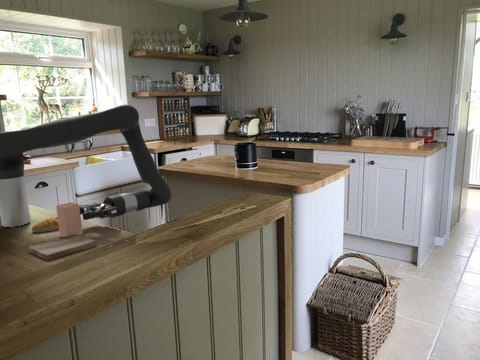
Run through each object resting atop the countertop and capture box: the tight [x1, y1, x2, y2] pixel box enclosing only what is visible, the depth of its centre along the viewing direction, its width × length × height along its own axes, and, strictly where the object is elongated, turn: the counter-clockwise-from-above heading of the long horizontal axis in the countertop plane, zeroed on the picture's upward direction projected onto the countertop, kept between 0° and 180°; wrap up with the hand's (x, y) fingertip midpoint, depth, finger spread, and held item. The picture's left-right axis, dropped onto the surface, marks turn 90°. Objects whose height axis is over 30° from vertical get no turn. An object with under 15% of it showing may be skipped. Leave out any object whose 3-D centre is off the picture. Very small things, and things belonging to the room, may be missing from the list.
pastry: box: [31, 216, 59, 234], centre depth 137 cm, size 9×7×4 cm
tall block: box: [55, 201, 84, 238], centre depth 128 cm, size 5×5×10 cm
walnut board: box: [27, 234, 97, 261], centre depth 116 cm, size 12×14×2 cm
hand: (76, 215), depth 130 cm, fingers open, 8 cm apart
